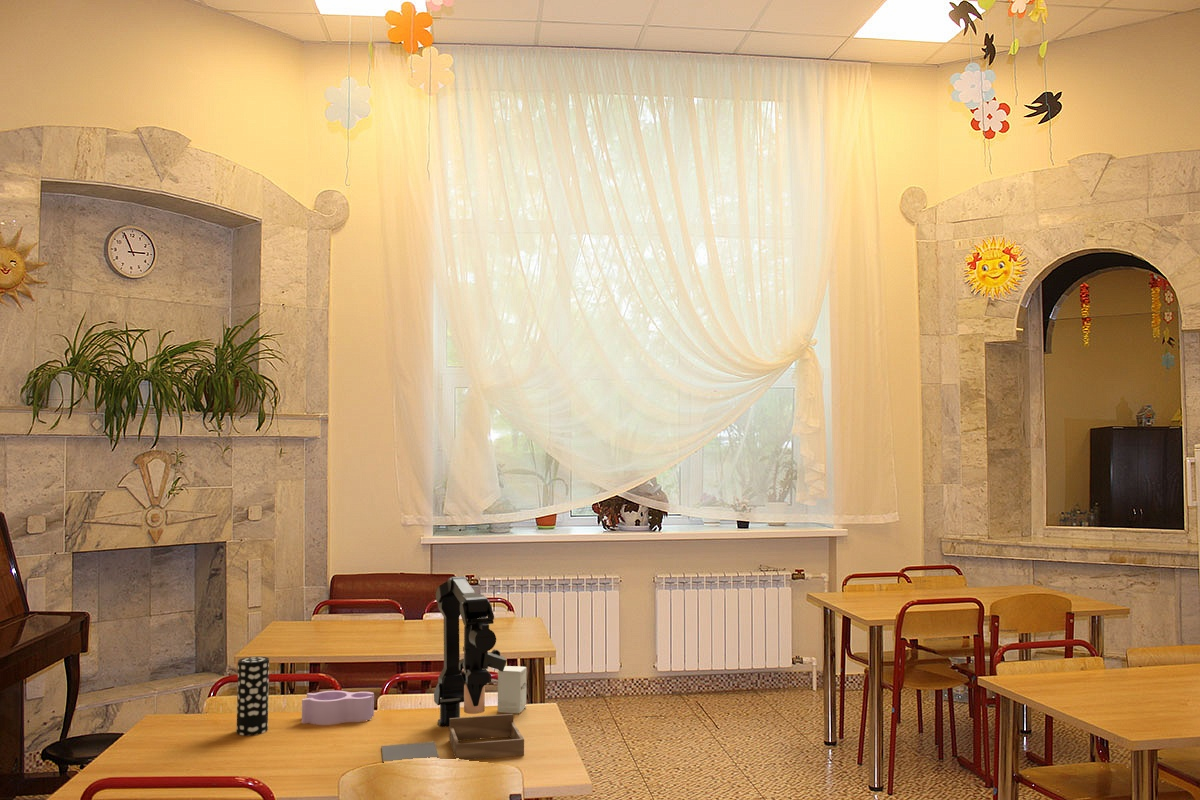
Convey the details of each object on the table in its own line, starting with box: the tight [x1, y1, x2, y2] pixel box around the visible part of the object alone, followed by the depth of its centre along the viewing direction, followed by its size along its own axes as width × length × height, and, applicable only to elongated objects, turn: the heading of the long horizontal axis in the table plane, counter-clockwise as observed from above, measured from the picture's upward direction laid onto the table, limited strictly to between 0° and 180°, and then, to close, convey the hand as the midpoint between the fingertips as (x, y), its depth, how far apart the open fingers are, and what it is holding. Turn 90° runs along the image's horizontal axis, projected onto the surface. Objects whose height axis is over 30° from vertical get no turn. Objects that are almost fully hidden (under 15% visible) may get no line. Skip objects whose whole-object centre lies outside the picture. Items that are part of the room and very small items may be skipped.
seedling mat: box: [381, 741, 440, 763], centre depth 247 cm, size 14×14×1 cm
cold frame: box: [448, 713, 525, 760], centre depth 252 cm, size 18×18×6 cm
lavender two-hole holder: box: [301, 690, 375, 726], centre depth 280 cm, size 20×12×7 cm, turn 95°
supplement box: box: [497, 665, 528, 714], centre depth 289 cm, size 7×7×13 cm
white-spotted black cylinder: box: [235, 656, 270, 737], centre depth 267 cm, size 8×8×20 cm
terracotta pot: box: [463, 683, 486, 715], centre depth 252 cm, size 6×6×9 cm
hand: (474, 703), depth 252 cm, fingers closed on terracotta pot, 5 cm apart
